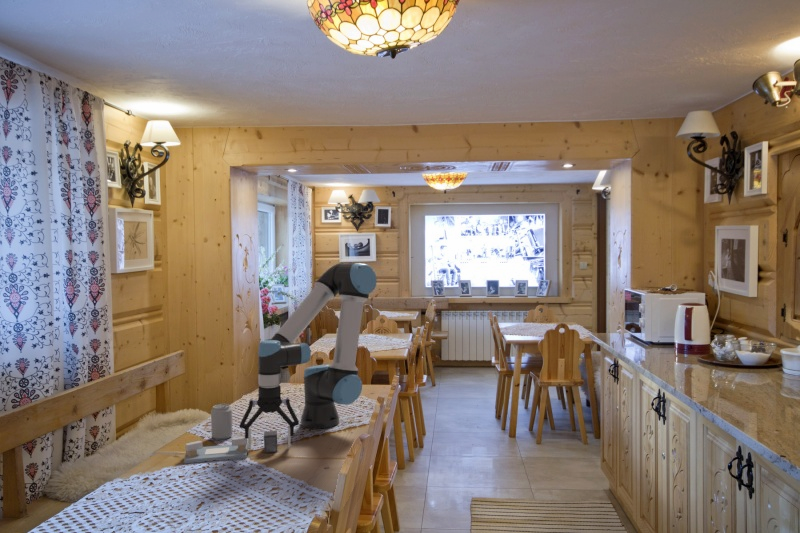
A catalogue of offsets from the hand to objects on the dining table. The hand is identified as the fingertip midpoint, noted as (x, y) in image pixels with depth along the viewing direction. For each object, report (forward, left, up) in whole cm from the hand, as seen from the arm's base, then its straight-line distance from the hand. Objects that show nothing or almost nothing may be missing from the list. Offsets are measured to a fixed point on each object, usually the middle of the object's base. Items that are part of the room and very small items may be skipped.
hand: (269, 446), depth 209 cm
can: (+18, -20, -2) cm, 26 cm away
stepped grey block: (0, 0, -1) cm, 2 cm away
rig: (+18, 0, -1) cm, 18 cm away
